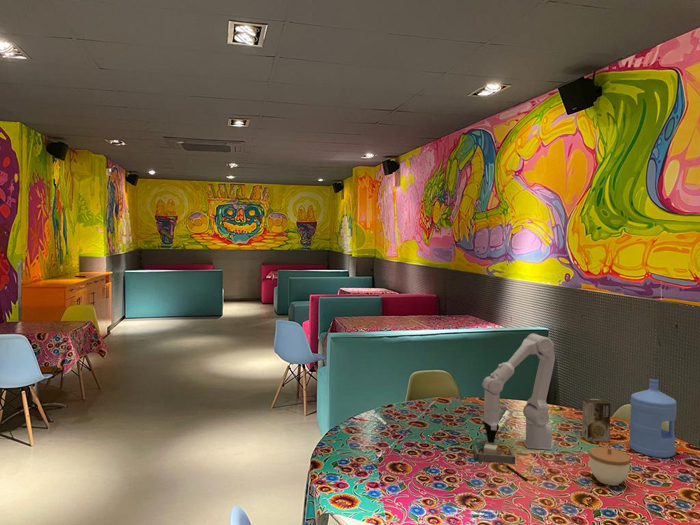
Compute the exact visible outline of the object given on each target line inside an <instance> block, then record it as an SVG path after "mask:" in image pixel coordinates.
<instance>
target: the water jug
mask: <svg viewBox="0 0 700 525" xmlns="http://www.w3.org/2000/svg"><path fill="white" fill-rule="evenodd" d="M659 381H660V380H659V379H655V378H649V384H648V385H649V386H648V387H649V388H648V389H645V390H641V391H638V392H634V393H632V394H631V395H630V417H629V418H630V419H629V439H628V445H629V447H630V448H631V450H633V451H635V452H636V453H639V454H641V455H645V456H649V457H653V458H659V459H660V458H661V459H662V458H664V459H666V458H671V457H673V456H675V454H676V435H675V421H676V419H677V411H678V408H677V406H678V405H677V401H676V399H674V398H673V397H671V396H669V395H668V394H665V393H663V392H661V391H660V390H659V386H660V385H659ZM664 422H668V430H666V429H662V424H663V423H664Z"/></svg>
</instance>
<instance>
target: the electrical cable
mask: <svg viewBox="0 0 700 525" xmlns="http://www.w3.org/2000/svg"><path fill="white" fill-rule="evenodd" d="M505 468H507V470H509V471H511V472H513V473H514V474H515V475H516V474H517V475H516V476H517V477H520V479H522V480H524V481H525V482H528V481H529V479H528V477H527V478H526V477H525V476H524V475H522V474H521V473H520V472H518V471H516V470H515V469H514V468H512V467H511V466H509V465H508V464H505Z"/></svg>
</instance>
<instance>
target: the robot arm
mask: <svg viewBox="0 0 700 525" xmlns="http://www.w3.org/2000/svg"><path fill="white" fill-rule="evenodd" d="M554 347H555V343H554V342H553V341H552V340H551V339H550V338H549V337H547V336H542V335H540V334H537V333H534V332H533V333H530V334H528V335H527V336H526V338H524V339H523V341H522V343H521V345H520V346H519V347H518V348H517V349H516V351H515V352H514V353H513V355H512V356H511V357H510V359H509V360H508V361H505V362H502V363H499V364H498V365H497V366H498V367H497V368H496V369H495V370H493V372H491V373H490V375H489V376H485V378H484V379H483V381H482V382H481V387H482V388H483V390H484V394H483V395H484V398H483V400H484V402H483V404H484V405H483V417H480V421H481V422H483V423H482V425H483V426H484V429H485V433H486V439H487V444H494V443H495V439H496V437H497V436H496V435H497V433H498V431H499V429H500V426H499V424H500V397H501V394H500V393H501V392H502V391H503V389H504V385H505V383H506V382H507V381H508V380H509V379H510V378H511V377H512V376H513V375H514V374H515V368H516V367H517V366H519V365H520V364H521V362H522V361H524V360H525V359H526V358H527V357H529V355H536V356H537V357H538V359H539V361H538V367H537V371H536V376H535V381H534V383H533V388H532V389H533V390H532V394H531V397H530V398H528V399H527V401H526V404H525V406H524V407H523V409H522V413H523V416H524V417H525V439H522V443H523V444H524V445H525V448H527V449H532V450H533V449H536V450H549V451H551V450H552V436H553V435H552V434H553V433H552V426H551V423H550V424H549V423H548V422H549V421H550V414H549V413H550V412H549V410H550V407H549V405H548V403H547V399H548V398H547V397H548V393H549V388H550V385H551V384H550V383H551V379H552V375H553V371H554V366H555V365H554V364H555V360H556V355H555V351H554Z"/></svg>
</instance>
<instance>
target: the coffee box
mask: <svg viewBox="0 0 700 525" xmlns="http://www.w3.org/2000/svg"><path fill="white" fill-rule="evenodd" d="M581 426H582V427H581V436H582V437H583V438H584V439H585V441H587V442H603V443H604V442H605V443H606V442H608V443H609V442H610V440H611V402H609V401H608V400H607V399H605V398H587V397H586V398H585V397H584V398H582V425H581Z"/></svg>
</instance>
